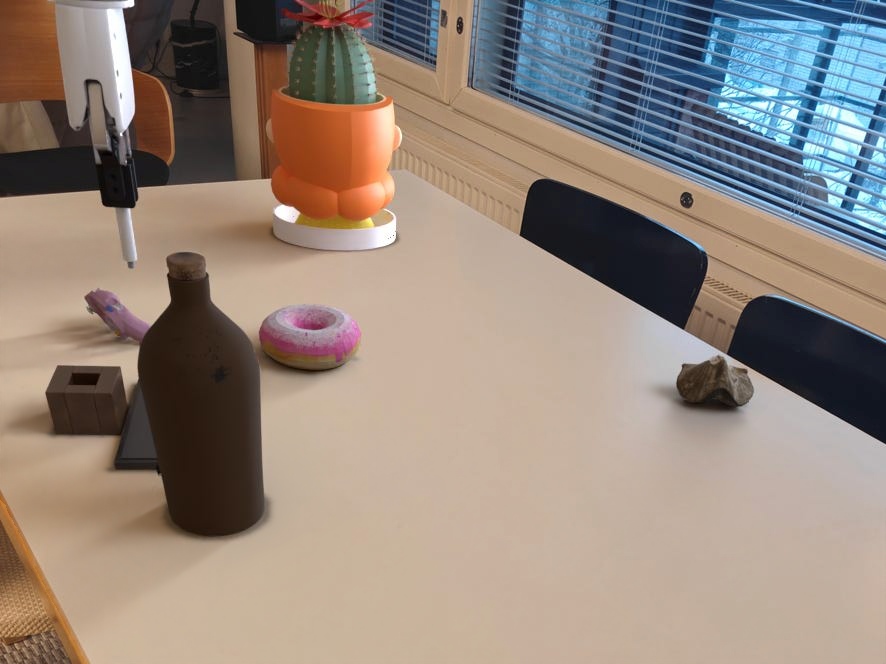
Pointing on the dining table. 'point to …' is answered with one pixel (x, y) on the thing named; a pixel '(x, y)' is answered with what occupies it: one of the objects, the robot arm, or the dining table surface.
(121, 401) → the pen holder
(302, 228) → the potted cactus
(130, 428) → the tablet
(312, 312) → the donut
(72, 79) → the robot arm
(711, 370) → the fossilized seashell
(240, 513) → the rum bottle
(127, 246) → the stylus
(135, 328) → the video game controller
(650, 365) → the dining table surface
